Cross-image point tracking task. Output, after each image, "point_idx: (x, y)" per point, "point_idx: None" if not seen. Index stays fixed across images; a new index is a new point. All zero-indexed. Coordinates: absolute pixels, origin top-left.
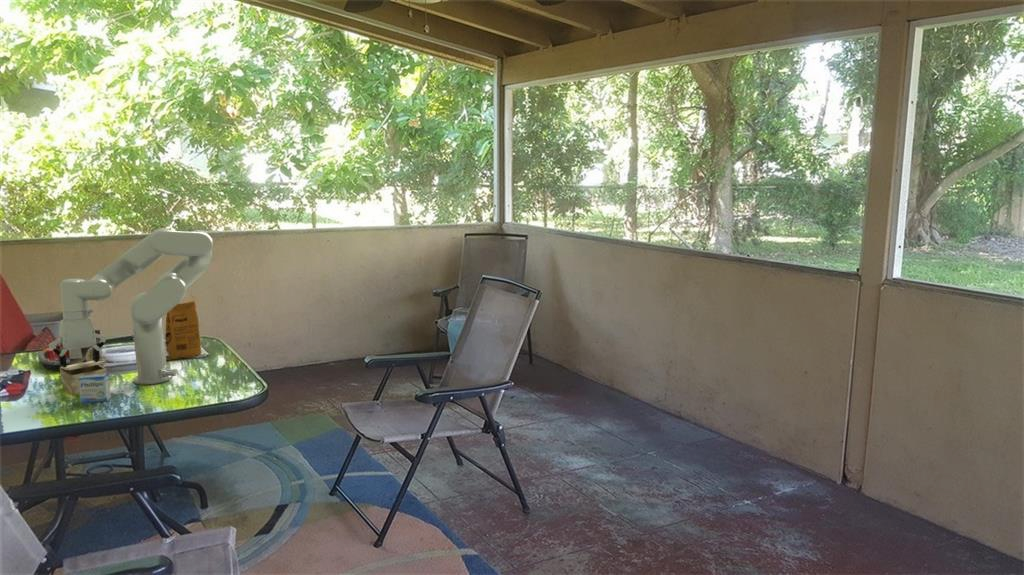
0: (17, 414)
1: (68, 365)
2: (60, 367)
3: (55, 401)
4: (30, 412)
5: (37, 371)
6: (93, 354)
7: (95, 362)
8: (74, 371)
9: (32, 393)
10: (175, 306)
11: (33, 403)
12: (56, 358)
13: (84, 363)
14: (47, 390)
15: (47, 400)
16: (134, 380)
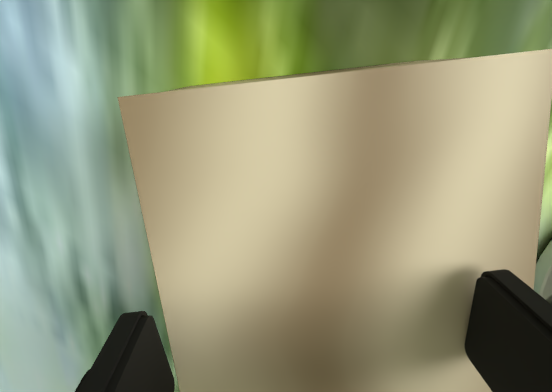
0: (11, 383)
1: (219, 101)
2: (126, 132)
3: (150, 315)
4: (59, 388)
5: None
6: (542, 377)
7: (455, 354)
8: None
9: (5, 73)
10: None
11: (51, 285)
12: None
13: (377, 234)
14: (96, 66)
15: (113, 279)
16: (543, 289)
